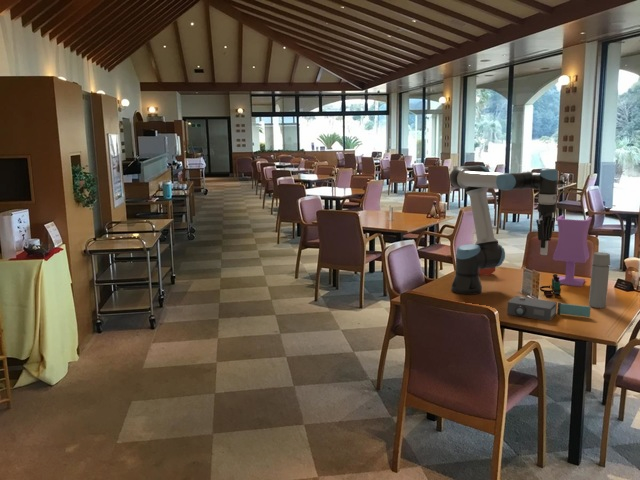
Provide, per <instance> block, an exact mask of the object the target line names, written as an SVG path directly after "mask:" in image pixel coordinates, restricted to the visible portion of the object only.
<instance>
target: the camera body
mask: <svg viewBox="0 0 640 480" xmlns="http://www.w3.org/2000/svg"><path fill="white" fill-rule="evenodd" d="M557 310H558V301H553V300H545V299H539V298H532V297H526V296H519V295H515V296H513V297H512V298H511V299H510V300H509V301H507V311H506V313H507V315H511V316H517V317H523V318H527V317H528V319H534V320H539V321H545V322H546V321H547V322H550V321H552V319H553V318H554V317H555V316H556V315H557Z"/></svg>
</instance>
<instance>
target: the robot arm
mask: <svg viewBox="0 0 640 480" xmlns="http://www.w3.org/2000/svg"><path fill="white" fill-rule="evenodd" d="M558 182H559V172H558V170H557V169H555V168H541V169H540V172H531V171H523V172H515V173H514V172H491V171H490V170H489V168H488V167H486V166H484V165H461V166H458V167H457V166H456V167H455V168H453V170H452V171H451V172H450V174H449V183H450V184H451V185H452V187H454V188H456V189H460V190H461V189H462V190H463V189H464V190H465V194H466V195H468V196H469V201H470V206H471V213H472V217H473V222H474V231H475V234H476V242H475V243H474V244H473V243H470V244H468V243H467V244H461V245H459V246H458V247H457V248H456V251H455V252H456V254H455V273H454V278H453V281H452V284H451V288H450V289H451V291H452V292H454V293H456V294H462V295H478V294H481V293H482V292H483V287H482V284H481V279H480V274H479V269H486V268H494V267H495V268H498V267H500V266H502V264H503V262H504V261H505V258H506V252H505V248H504V247H503V246H502V245H501V244H499V241H498V239H496V238H495V235H494V230H493V224H492V217H491V212H490V208H489V201H488V196H487V192H488V191H489V189H496V190H497V189H498V190H500V191H513V190H514V191H515V190H528V189H529V190H530V189H531V190H538V199H537V202H538V204H537V212H538V213H540V214H539V218H538V219H536V225H537V227H536V228H537V239H538V241H540V249H539V250H540V251H539V255H542V256H547V255H548V249H549V241H551V239H552V236H553V231H554V226H555V221H556V217H553V214H554V213H556V210H557V209H556V208H557V205H556V202H557V199H558V197H557V193H558Z"/></svg>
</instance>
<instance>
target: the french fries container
mask: <svg viewBox="0 0 640 480" xmlns="http://www.w3.org/2000/svg"><path fill="white" fill-rule="evenodd" d="M495 271H496V267H494V268H486V269H479V276H491V275H492V274H493V273H494V272H495Z"/></svg>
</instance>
